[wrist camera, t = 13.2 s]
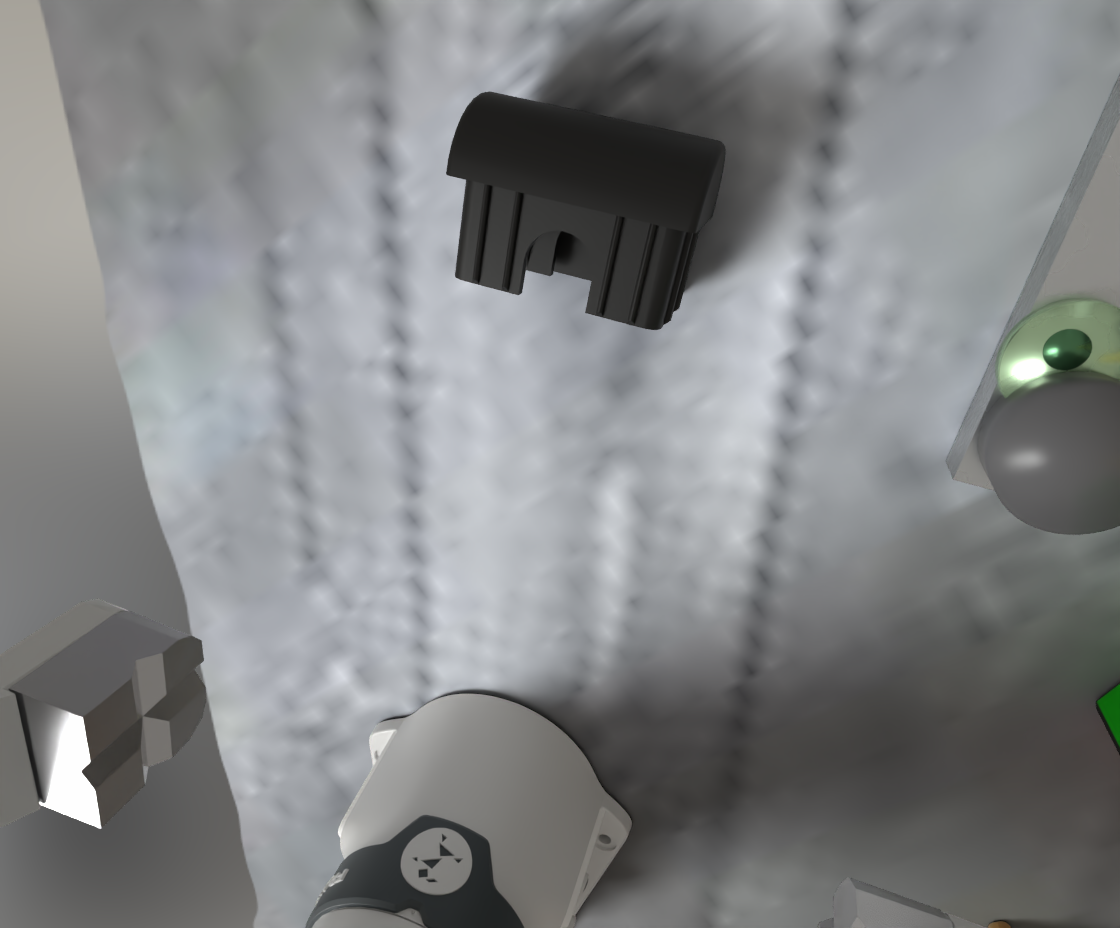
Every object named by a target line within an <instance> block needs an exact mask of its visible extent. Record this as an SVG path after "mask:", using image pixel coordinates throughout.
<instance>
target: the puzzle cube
mask: <svg viewBox="0 0 1120 928" xmlns="http://www.w3.org/2000/svg"><path fill="white" fill-rule="evenodd" d="M1096 708H1097V711H1098V713H1099V715H1100V717H1101V719H1102V721H1103V723H1104V725H1105V727H1106V729H1107V731H1108V733H1109V735H1110V737H1111V739H1112V740H1113V742H1114V744H1115V746H1116V748H1117V750H1118V752H1119V754H1120V684H1118V685H1117V686H1116V687H1115V688H1113V689H1112V690H1111V691H1109V692H1108V693H1107V694H1105V695H1104V696H1103V697H1101V698H1100V699H1099V700H1097V701H1096Z"/></svg>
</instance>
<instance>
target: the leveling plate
mask: <svg viewBox="0 0 1120 928" xmlns="http://www.w3.org/2000/svg"><path fill="white" fill-rule="evenodd" d="M1074 371H1083V372H1094V373H1100V374H1104V375H1107V376H1110V377H1113V378H1116V379H1118V380H1120V75H1119V78H1118V80H1117V82H1116V84H1115V87H1114V89H1113V91H1112V93H1111V95H1110V98H1109V100H1108V102H1107V104H1106V107H1105V109H1104V111H1103V113H1102V115H1101V118H1100V120H1099V122H1098V124H1097V126H1096V129H1095V131H1094V133H1093V135H1092V138H1091V140H1090V142H1089V144H1088V146H1087V149H1086V151H1085V153H1084V155H1083V158H1082V160H1081V162H1080V164H1079V166H1078V169H1077V171H1076V173H1075V175H1074V178H1073V180H1072V182H1071V184H1070V186H1069V189H1068V191H1067V193H1066V195H1065V197H1064V200H1063V202H1062V204H1061V206H1060V209H1059V211H1058V213H1057V215H1056V217H1055V220H1054V222H1053V224H1052V226H1051V229H1050V231H1049V233H1048V235H1047V237H1046V240H1045V242H1044V244H1043V246H1042V249H1041V251H1040V253H1039V255H1038V257H1037V260H1036V262H1035V264H1034V266H1033V269H1032V271H1031V273H1030V275H1029V277H1028V280H1027V282H1026V284H1025V286H1024V288H1023V291H1022V293H1021V295H1020V297H1019V300H1018V302H1017V304H1016V306H1015V308H1014V311H1013V313H1012V315H1011V317H1010V320H1009V322H1008V324H1007V326H1006V328H1005V331H1004V333H1003V335H1002V337H1001V340H1000V342H999V344H998V346H997V348H996V351H995V353H994V355H993V357H992V359H991V362H990V364H989V366H988V368H987V371H986V373H985V375H984V377H983V379H982V382H981V384H980V386H979V388H978V391H977V393H976V395H975V397H974V399H973V402H972V404H971V406H970V408H969V411H968V413H967V415H966V417H965V419H964V422H963V424H962V426H961V428H960V430H959V433H958V435H957V437H956V439H955V442H954V444H953V446H952V448H951V450H950V453H949V455H948V457H947V459H946V464H947V466H948V469H949V471H950V473H951V476H952V478H953V480H957V481H960V482H964V483H968V484H972V485H976V486H979V487H983V488H987V489H991V490H994V488H993V486H992V484H991V482H990V480H989V478H988V477H987V475H986V473H985V471H984V469H983V466H982V464H981V462H980V458H979V454H978V436H979V431H980V427H981V425H982V422H983V420H984V418H985V416H986V414H987V412H988V411H989V409H990V408H991V407H992V405H993V404H994V403H995V402H996V401H997V400H998V398H999V397H1000V396H1001V395H1003V396H1004V397H1005V398H1007V397H1008V396H1009V395H1010V394H1011V393H1013V392H1014V391H1016V390H1017V389H1019V388H1020V387H1022V386H1024V385H1026V384H1028V383H1030V382H1032V381H1034V380H1037V379H1039V378H1042V377H1045V376H1049V375H1052V374H1057V373H1063V372H1074Z"/></svg>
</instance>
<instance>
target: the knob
mask: <svg viewBox="0 0 1120 928" xmlns="http://www.w3.org/2000/svg"><path fill="white" fill-rule="evenodd" d="M978 454H979V458H980V462H981V464H982V466H983V469H984V471H985V473H986V475H987V477H988V478H989V480H990V482H991V484H992V486H993V488H994V490H995V492H996V494H997V496H998V498H999V499H1000V501H1001V502H1002V504H1003V505H1004V506H1005V507H1006V508H1007V509H1008V511H1009V512H1011V513H1012V514H1013V515H1014V516H1015V517H1017V518H1018V519H1020V520H1021V521H1023V522H1024V523H1026V524H1028V525H1030V526H1033V527H1035V528H1038V529H1041V530H1044V531H1048V532H1052V533H1058V534H1075V535H1079V534H1090V533H1096V532H1101V531H1105V530H1108V529H1112V528H1115V527H1117V526H1120V380H1118V379H1116V378H1113V377H1110V376H1107V375H1104V374H1100V373H1094V372H1083V371H1074V372H1063V373H1057V374H1052V375H1049V376H1045V377H1042V378H1039V379H1037V380H1034V381H1032V382H1030V383H1028V384H1026V385H1024V386H1022V387H1020V388H1019V389H1017V390H1016V391H1014V392H1013V393H1011V394H1010V395H1009V396H1008V397H1007V398H1005V397H1004V396H1003V395H1001V396H1000V397H999V398H998V400H997V401H996V402H995V403H994V404H993V405H992V407H991V408H990V409H989V411H988V412H987V414H986V416H985V418H984V420H983V422H982V425H981V427H980V431H979V436H978Z"/></svg>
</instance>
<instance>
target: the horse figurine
mask: <svg viewBox="0 0 1120 928" xmlns="http://www.w3.org/2000/svg"><path fill="white" fill-rule="evenodd" d="M988 928H1012V927H1011V926H1010V925H1009V924H1008V923H1006V922H1004V921H998V922H992V923H990V924H989V926H988Z"/></svg>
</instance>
